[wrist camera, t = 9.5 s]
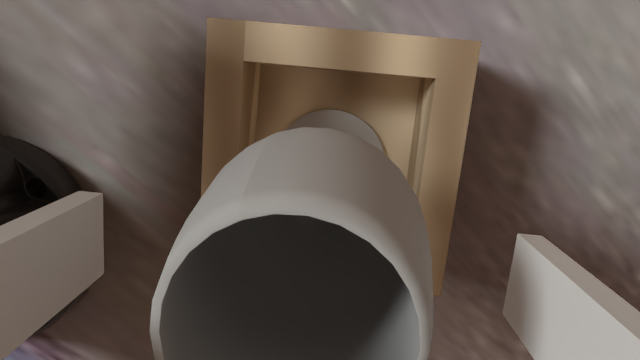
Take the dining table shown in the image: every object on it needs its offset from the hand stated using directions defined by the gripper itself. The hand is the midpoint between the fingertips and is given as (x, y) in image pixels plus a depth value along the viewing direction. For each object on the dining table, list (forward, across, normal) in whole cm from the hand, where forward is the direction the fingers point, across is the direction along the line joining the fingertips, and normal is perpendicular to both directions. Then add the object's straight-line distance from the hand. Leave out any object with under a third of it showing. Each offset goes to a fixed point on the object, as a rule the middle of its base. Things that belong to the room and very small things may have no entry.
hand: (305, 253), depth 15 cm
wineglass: (+16, 0, 0) cm, 16 cm away
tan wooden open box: (+18, +1, +1) cm, 18 cm away
